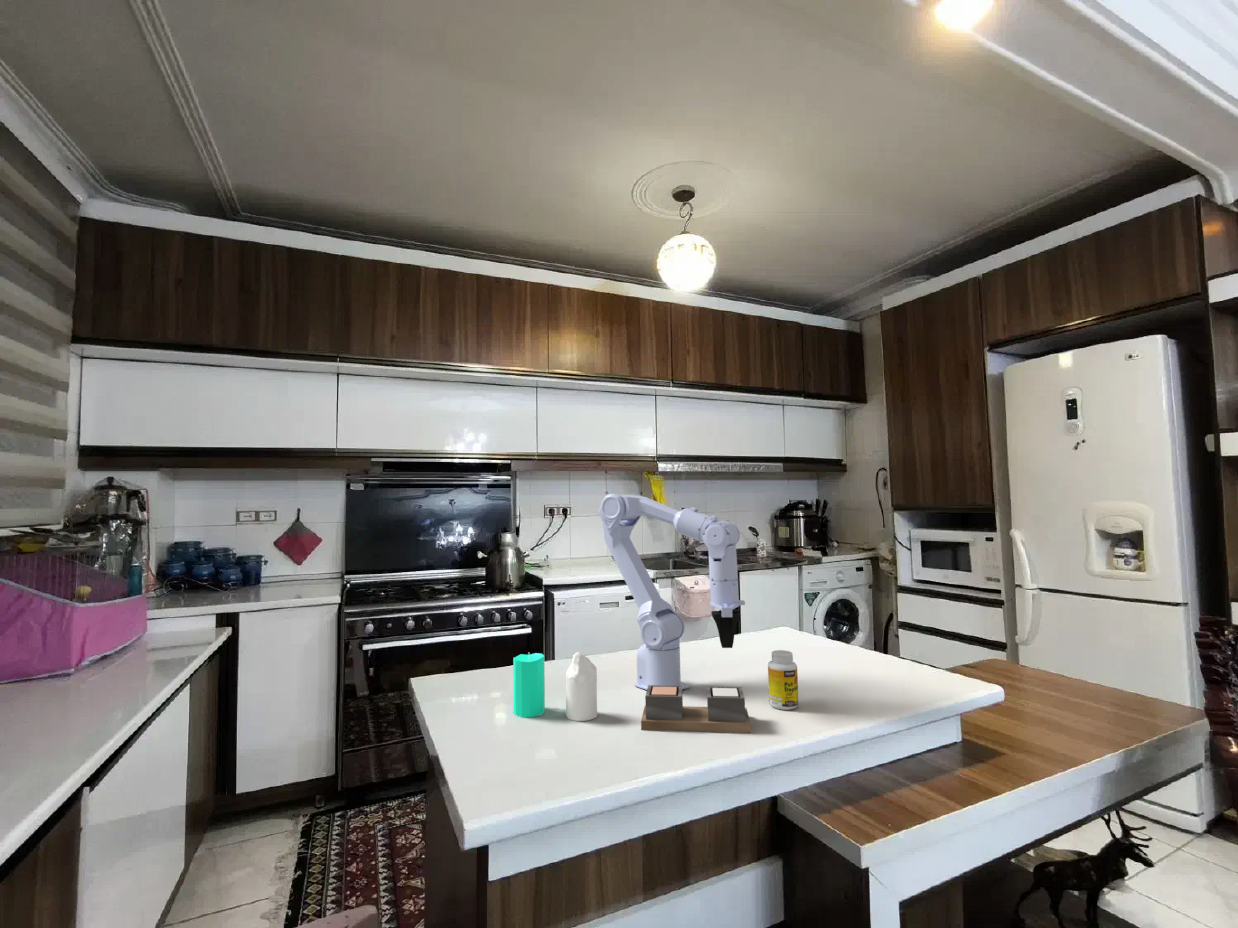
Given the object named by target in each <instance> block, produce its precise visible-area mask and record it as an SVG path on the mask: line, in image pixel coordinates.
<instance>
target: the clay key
mask: <svg viewBox="0 0 1238 928" xmlns="http://www.w3.org/2000/svg"><path fill="white" fill-rule="evenodd" d="M651 695H658V696H677V687H653V689H652V694H651Z"/></svg>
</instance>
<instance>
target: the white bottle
mask: <svg viewBox="0 0 1238 928" xmlns="http://www.w3.org/2000/svg"><path fill="white" fill-rule="evenodd" d="M597 671H598V670H597V667H596V665H595V664H594V663H593V662H592V661H591V660H590V659H589V657H587V656H586V655H585V654H582V653H580V651H577V652H576V653H573V655H572V661H571V664H569V667H568V668H567V670H566V673H565V708H566V710H565V712H566V713H565V714H566V715H565V716H566V718H567V719H569V720H570V721H576V722H585V721H586V722H587V721H591V720H594V719H596V718H597V717H598V702H597V701H598V695H597V694H598V693H597V692H598V687H597V686H598V679H597V677H598V675H597Z"/></svg>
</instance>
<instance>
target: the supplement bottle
mask: <svg viewBox="0 0 1238 928" xmlns="http://www.w3.org/2000/svg"><path fill="white" fill-rule="evenodd" d="M793 660H794V655H793V652H791V651H790V650H783V649H781V650H780V649H779V650H777V649H776V650H772V651H771V660H769V662H768V663H767V678H768V703H769V705H770V706H771V707H772V708H775V709H777V710H784V711H790V710H791V711H792V710H795V709H797V708H798V706H799V683H798V682H799V681H798V678H799V677H798V676H799V675H798V664H797V663H796V662H795V661H793Z"/></svg>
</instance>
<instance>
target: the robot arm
mask: <svg viewBox="0 0 1238 928" xmlns="http://www.w3.org/2000/svg"><path fill="white" fill-rule="evenodd" d="M598 516H599V517H600V519H601V521H602V528H603V538H604V542H605V544H606V546H607V548H608V549H609V552H610V554H611V556H612V558H613V559H614V561H615V564H616V566H617V568H618V570H619V571H620V574H621V576H622V578H623V581H624V582H625V584H626V586H627V588H628V589H629V591H630V593H631V596H632V598H633V600H634V601H635V603H636V605H637V607H638V613H637V617H636V621H637V624H638V626H639V627H638V628H639V635H640V639H641V640H642V642H643V644H641V645H640V647H639V648H638V650H637V653H636V682H635V683H634V685H633V686H634V687H636V688H640V689H643V690H645V691H647V688H648V685H662V686H682V691H683V690H687V689H690V685H689V684H686V683H683V682H682V681H681V679H682V678H681V644H680V643H681V641H680V639H681V638H682V637H683V635H684V633H685V621H684V620H683V618H682V617H681V615H680V614H678V613H677V612H676V611H675V610H674V608H673V607H672V605H671V604H670V603H669V602H667V601H666V600H664V599H663V598H662V597H661V595H660V594H659V591H658V589H657V587H656V586H655V584H654V581H653V580H652V577H651V576H650V574H649V573H648V570H647V568H646V566H645V565H644V563H643V560H642V559H641V557H640V554H639V553H638V551H637V549H636V547H635V545H634V543H633V541H632V540H631V534H632V531H633V529H634V528H635V526H636V525H637V524H638V522H639V521H640V519H641V518H642V517H645V516H646V517H649V518H652V519H656V520H659V521H661V522H664V523H667V524H670V525H673V526H674V528H675V530H676V532H677V533H678V534H680V535H682V536H685V537H687V538H691V539H693V540H695V541H698V542H701V543H702V544H703V543H704V545H705V546H706V547H707V550H708V570H709V571H708V573H709V591H710V593H709V595H710V601H709V606H710V607H712V608H715V609H717V610H712V611H711V616H712V618H713V620H714V623H715V625H716V628H717V632H718V636H719V637H718V638H719V642H720V646H721V648H722V649H732V648H733V646H734V642H735V641H734V640H735V632H736V627H737V623H738V621H739V619H740V616H741V613H740V610H739V609H736V608H739V607H740V606H745V605H746V601H745V600H740V595H739V593H740V592H739V576H738V575H739V574H738V558H737V557H738V556H737V544H738V543H739V540H740V538H741V535H740V530H739V528H738V526H737V525H736V524H735V523H733V522H732V521H731V520H729V519H724V520H721V521H720V520H719V519H718V518H719V517H718V516H717V515H713V514H712V515H711V516H710V515H707V514H704V513H702V512H699V508H697V507H693V506H692V507H688V508H687V507H686V508H684V509H681V510H677V509H675V508H672V507H670V506H667V505H666V504H663V503H661V502H658V501H656V500H654V499H651V498H649V497H647V496H642V495H638V494H635V493H631V494H617V493H609V494H607V495H605V496H604V497H603V499H602V500H601V503H600V506H599V509H598Z"/></svg>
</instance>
